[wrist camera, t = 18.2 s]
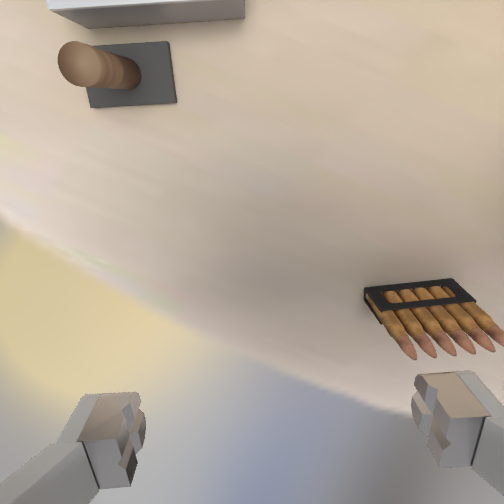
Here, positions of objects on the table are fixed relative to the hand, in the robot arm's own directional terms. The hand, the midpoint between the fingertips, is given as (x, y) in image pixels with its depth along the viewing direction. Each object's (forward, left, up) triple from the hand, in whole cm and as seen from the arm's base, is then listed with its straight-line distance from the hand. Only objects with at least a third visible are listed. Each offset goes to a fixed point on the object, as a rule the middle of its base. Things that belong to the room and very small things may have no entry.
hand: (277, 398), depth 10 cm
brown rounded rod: (+11, -11, -28) cm, 32 cm away
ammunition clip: (-18, +14, -29) cm, 37 cm away
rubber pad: (+11, -11, -29) cm, 33 cm away
